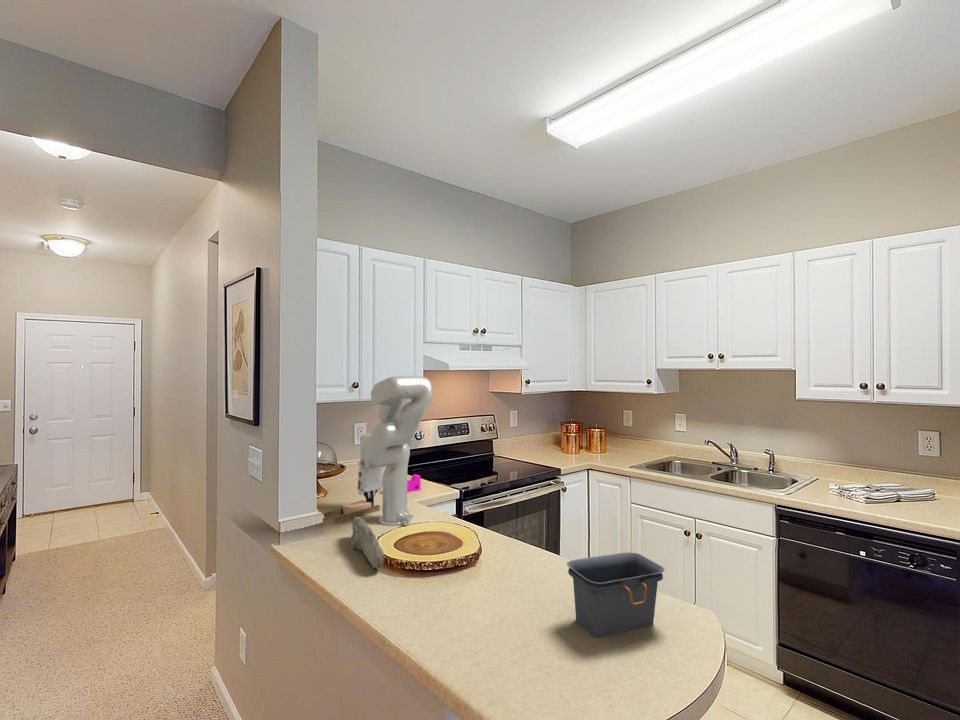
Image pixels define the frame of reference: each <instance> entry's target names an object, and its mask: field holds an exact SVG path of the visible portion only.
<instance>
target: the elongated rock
mask: <svg viewBox="0 0 960 720" xmlns="http://www.w3.org/2000/svg"><path fill="white" fill-rule="evenodd" d="M351 525H352V534H351V535H350V541H351V545H350V547H351V549H352V550H358V551H360V552H362V553H363V554H364V556H365V557H366V559H367V560H368V562H369V564H370V565H371V568H372V569H382V567H381V566H383V565H384V550H383V548H382V547H381V545H380V543H379V542H378V539H377V538H376V535H375V533H374V532H373V530H372V529H371V526H368V523H367V522H366V521H365V518H361V516H360V517H355V518H353V519H352V524H351Z"/></svg>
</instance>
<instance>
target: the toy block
mask: <svg viewBox="0 0 960 720" xmlns="http://www.w3.org/2000/svg"><path fill="white" fill-rule="evenodd" d="M418 491H421V475H420V474H412V475H411V478H410V479H409V480H408V479H407V493H411V492H418Z"/></svg>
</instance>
